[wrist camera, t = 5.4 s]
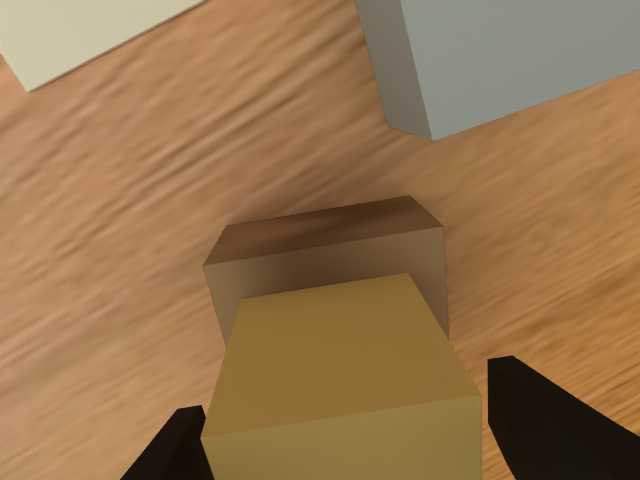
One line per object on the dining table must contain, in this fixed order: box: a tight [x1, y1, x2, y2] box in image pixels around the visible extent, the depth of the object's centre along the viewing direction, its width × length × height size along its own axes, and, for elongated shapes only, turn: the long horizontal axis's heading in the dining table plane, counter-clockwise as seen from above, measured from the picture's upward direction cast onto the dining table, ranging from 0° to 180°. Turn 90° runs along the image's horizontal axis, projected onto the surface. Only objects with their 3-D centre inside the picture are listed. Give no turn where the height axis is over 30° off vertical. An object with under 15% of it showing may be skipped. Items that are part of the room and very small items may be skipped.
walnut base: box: [203, 196, 449, 348], centre depth 14 cm, size 7×7×4 cm
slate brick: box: [355, 0, 640, 141], centre depth 10 cm, size 5×5×5 cm
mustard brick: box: [200, 273, 482, 480], centre depth 10 cm, size 5×5×5 cm
